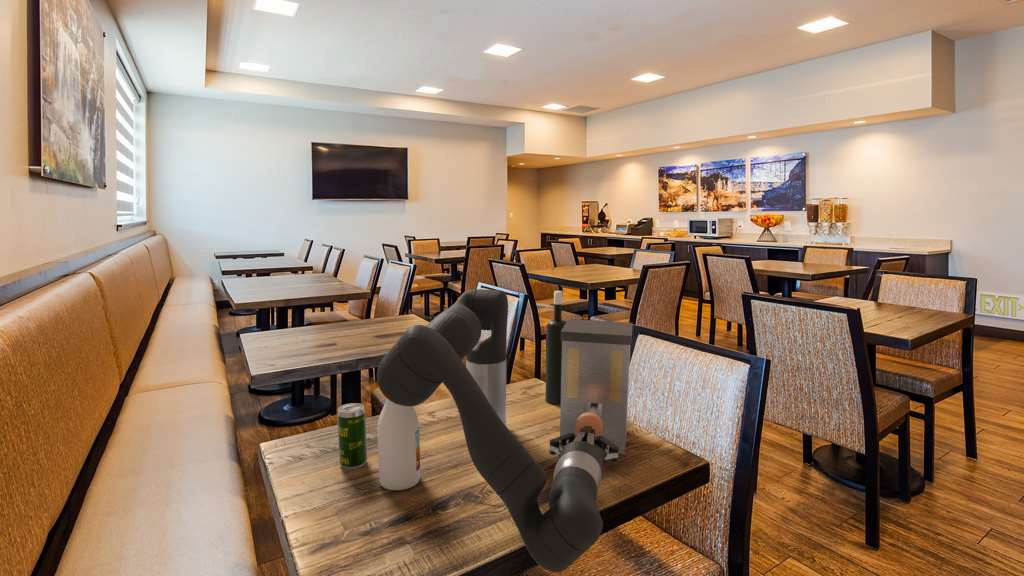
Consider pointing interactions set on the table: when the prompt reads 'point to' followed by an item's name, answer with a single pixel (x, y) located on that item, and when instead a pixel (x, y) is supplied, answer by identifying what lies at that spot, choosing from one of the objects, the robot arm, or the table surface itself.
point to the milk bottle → (398, 447)
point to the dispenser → (596, 375)
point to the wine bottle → (554, 353)
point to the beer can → (352, 436)
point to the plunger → (590, 420)
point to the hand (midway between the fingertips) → (588, 430)
